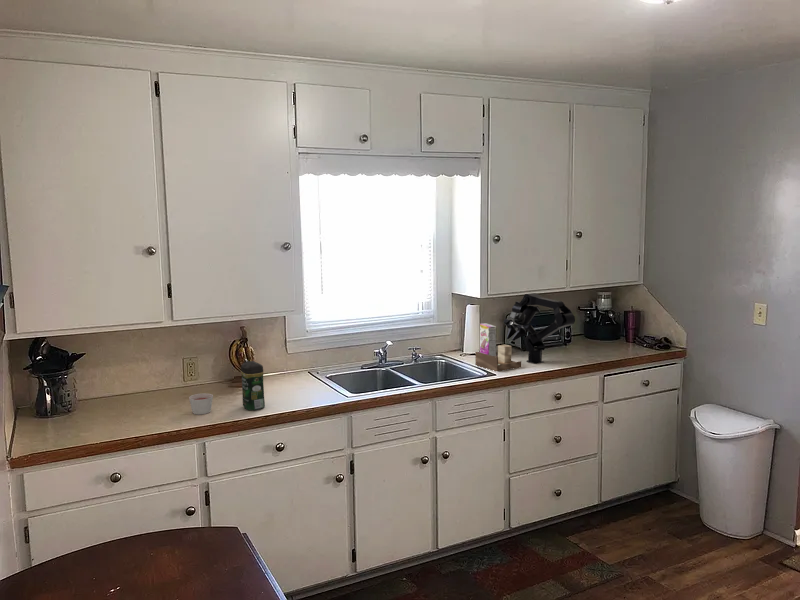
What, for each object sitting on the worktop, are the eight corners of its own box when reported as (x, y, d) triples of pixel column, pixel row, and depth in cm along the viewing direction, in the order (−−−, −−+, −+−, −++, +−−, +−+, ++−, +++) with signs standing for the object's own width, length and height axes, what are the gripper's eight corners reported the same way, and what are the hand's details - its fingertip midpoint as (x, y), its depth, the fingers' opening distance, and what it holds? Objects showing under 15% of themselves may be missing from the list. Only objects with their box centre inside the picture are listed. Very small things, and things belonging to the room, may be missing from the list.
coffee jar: (240, 406, 264) (238, 361, 262) (259, 403, 268) (257, 358, 266) (247, 412, 256) (245, 365, 253) (267, 409, 260) (265, 363, 257)
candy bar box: (478, 353, 360) (478, 323, 358) (486, 352, 362) (486, 323, 360) (488, 357, 350) (488, 326, 348) (496, 356, 352) (497, 326, 350)
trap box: (499, 361, 340) (499, 348, 339) (521, 367, 326) (521, 353, 326) (475, 365, 331) (475, 351, 330) (496, 371, 318) (496, 357, 317)
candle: (218, 411, 258) (217, 395, 257) (199, 417, 250) (199, 401, 249) (203, 407, 263) (202, 392, 262) (184, 413, 255) (184, 397, 255)
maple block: (504, 359, 334) (504, 344, 333) (511, 361, 330) (511, 346, 329) (497, 361, 332) (498, 345, 330) (504, 362, 327) (504, 347, 326)
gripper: (506, 303, 340) (489, 326, 336) (532, 309, 325) (514, 333, 321) (517, 316, 346) (500, 339, 342) (542, 323, 331) (525, 347, 326)
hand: (509, 339), depth 333 cm, fingers open, 4 cm apart
